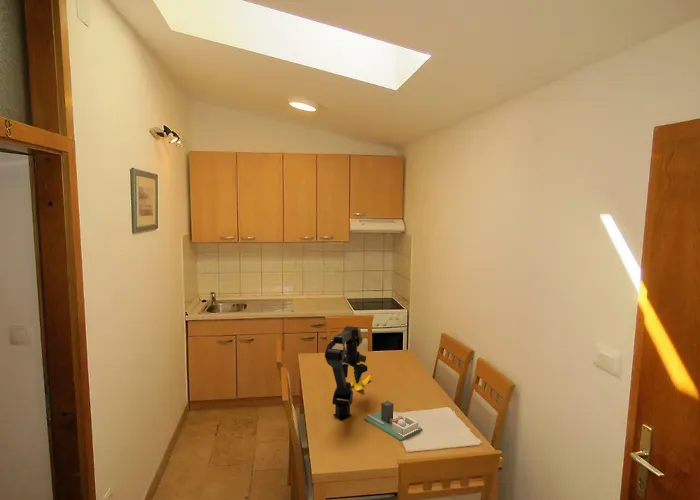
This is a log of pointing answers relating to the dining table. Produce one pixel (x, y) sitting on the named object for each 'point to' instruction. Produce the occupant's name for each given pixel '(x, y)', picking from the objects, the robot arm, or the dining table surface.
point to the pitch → (394, 426)
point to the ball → (401, 423)
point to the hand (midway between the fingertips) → (351, 380)
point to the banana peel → (359, 385)
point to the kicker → (388, 412)
